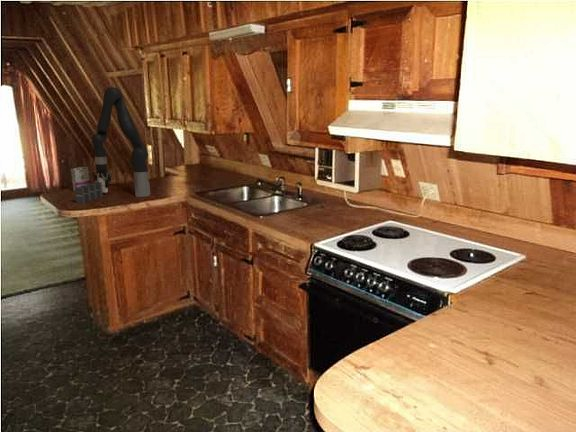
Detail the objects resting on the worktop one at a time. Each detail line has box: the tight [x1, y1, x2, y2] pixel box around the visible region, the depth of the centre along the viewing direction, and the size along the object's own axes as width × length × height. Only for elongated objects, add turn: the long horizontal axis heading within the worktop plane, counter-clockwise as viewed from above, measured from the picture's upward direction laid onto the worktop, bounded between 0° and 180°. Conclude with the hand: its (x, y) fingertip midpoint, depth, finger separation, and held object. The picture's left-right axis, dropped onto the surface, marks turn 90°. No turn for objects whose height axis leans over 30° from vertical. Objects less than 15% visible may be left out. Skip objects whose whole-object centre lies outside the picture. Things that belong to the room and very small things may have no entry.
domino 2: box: [81, 185, 92, 202], centre depth 300 cm, size 2×5×10 cm, turn 75°
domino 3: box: [87, 183, 98, 200], centre depth 306 cm, size 2×5×10 cm, turn 75°
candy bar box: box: [70, 166, 91, 192], centre depth 329 cm, size 11×5×16 cm, turn 143°
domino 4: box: [92, 181, 104, 198], centre depth 311 cm, size 2×5×10 cm, turn 75°
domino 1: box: [74, 187, 86, 205], centre depth 295 cm, size 2×5×10 cm, turn 75°
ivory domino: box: [99, 178, 109, 194], centre depth 316 cm, size 2×5×10 cm, turn 75°
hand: (103, 187), depth 317 cm, fingers closed on ivory domino, 5 cm apart
